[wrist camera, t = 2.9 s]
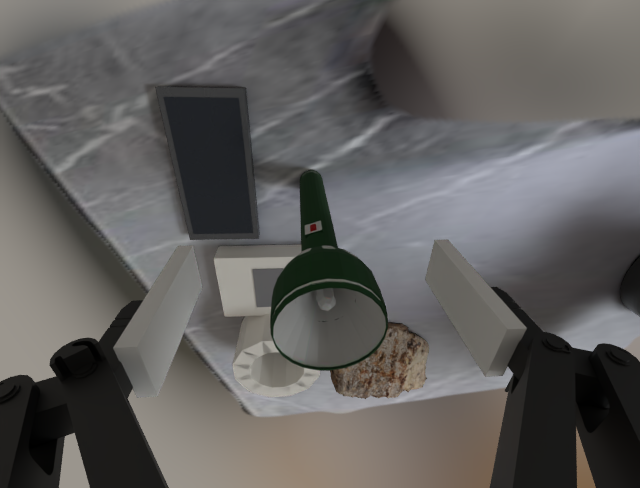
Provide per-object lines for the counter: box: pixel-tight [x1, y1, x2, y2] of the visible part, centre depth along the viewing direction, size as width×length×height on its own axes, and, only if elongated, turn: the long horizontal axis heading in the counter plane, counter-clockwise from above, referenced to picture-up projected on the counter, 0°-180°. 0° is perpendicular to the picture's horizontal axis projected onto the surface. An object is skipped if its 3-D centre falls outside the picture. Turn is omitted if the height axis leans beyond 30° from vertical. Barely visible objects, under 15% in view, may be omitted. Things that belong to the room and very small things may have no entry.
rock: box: [330, 323, 429, 399], centre depth 41 cm, size 15×10×6 cm
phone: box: [155, 86, 260, 240], centre depth 28 cm, size 7×14×1 cm, turn 179°
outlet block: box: [214, 245, 320, 397], centre depth 35 cm, size 12×17×6 cm
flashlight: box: [270, 170, 388, 370], centre depth 21 cm, size 5×5×20 cm
